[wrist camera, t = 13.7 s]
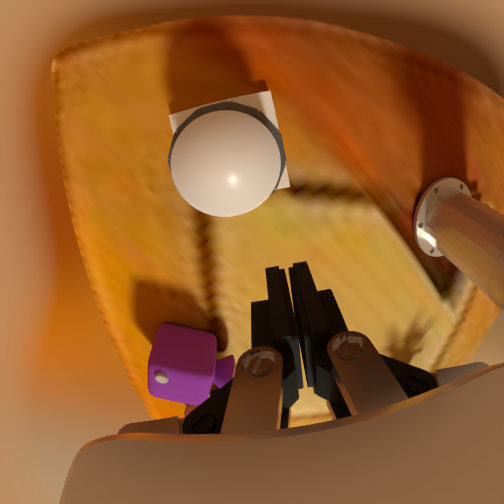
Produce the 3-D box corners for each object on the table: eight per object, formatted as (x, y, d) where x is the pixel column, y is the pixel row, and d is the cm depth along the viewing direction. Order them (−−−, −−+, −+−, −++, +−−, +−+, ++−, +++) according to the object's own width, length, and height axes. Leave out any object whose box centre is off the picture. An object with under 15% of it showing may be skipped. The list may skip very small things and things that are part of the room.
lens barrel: (268, 91, 26) (280, 79, 18) (287, 183, 31) (305, 209, 23) (172, 115, 27) (144, 114, 19) (196, 203, 32) (180, 236, 24)
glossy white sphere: (261, 105, 22) (268, 99, 16) (277, 182, 26) (289, 204, 19) (180, 125, 23) (158, 127, 16) (200, 200, 26) (187, 226, 20)
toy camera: (236, 367, 46) (236, 414, 37) (160, 361, 45) (149, 406, 36) (238, 323, 41) (239, 375, 32) (151, 317, 40) (134, 365, 31)
